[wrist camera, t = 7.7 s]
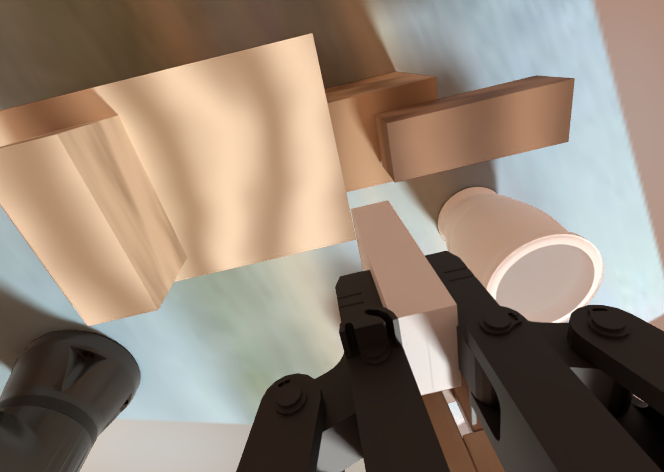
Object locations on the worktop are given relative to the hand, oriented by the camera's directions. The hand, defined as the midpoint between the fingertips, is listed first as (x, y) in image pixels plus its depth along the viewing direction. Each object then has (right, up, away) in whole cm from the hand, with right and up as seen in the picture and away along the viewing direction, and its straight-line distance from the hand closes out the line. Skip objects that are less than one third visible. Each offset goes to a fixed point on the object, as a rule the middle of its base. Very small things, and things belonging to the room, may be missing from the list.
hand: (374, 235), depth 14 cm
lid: (-14, +4, +14) cm, 21 cm away
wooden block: (+8, +9, +12) cm, 17 cm away
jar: (+16, +2, +30) cm, 34 cm away
